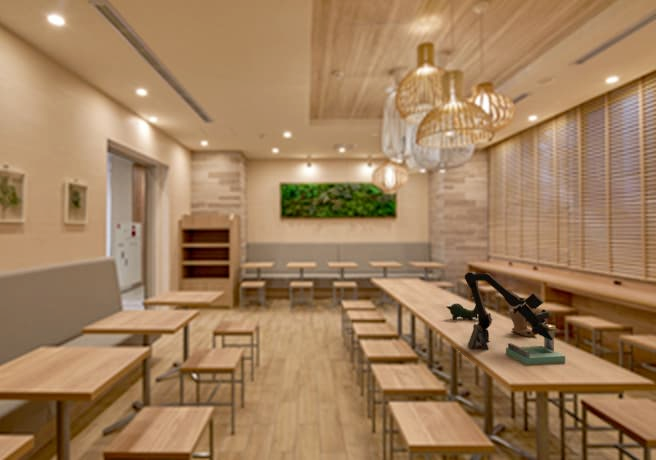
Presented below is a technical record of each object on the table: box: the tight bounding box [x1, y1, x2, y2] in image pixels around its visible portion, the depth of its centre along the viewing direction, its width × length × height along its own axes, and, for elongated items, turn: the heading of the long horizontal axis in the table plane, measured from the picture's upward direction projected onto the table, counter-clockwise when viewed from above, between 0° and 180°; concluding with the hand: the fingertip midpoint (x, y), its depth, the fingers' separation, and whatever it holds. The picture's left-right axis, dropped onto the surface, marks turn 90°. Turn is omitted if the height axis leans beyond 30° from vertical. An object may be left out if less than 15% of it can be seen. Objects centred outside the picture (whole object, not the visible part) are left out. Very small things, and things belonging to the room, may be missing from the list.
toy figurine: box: [445, 294, 484, 321], centre depth 270 cm, size 9×19×25 cm
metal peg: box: [543, 323, 557, 351], centre depth 200 cm, size 6×6×13 cm
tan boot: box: [509, 308, 538, 337], centre depth 232 cm, size 15×12×15 cm
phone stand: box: [467, 323, 490, 351], centre depth 205 cm, size 9×6×12 cm, turn 88°
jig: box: [505, 343, 566, 365], centre depth 189 cm, size 20×16×5 cm
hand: (552, 338), depth 199 cm, fingers closed on metal peg, 5 cm apart
